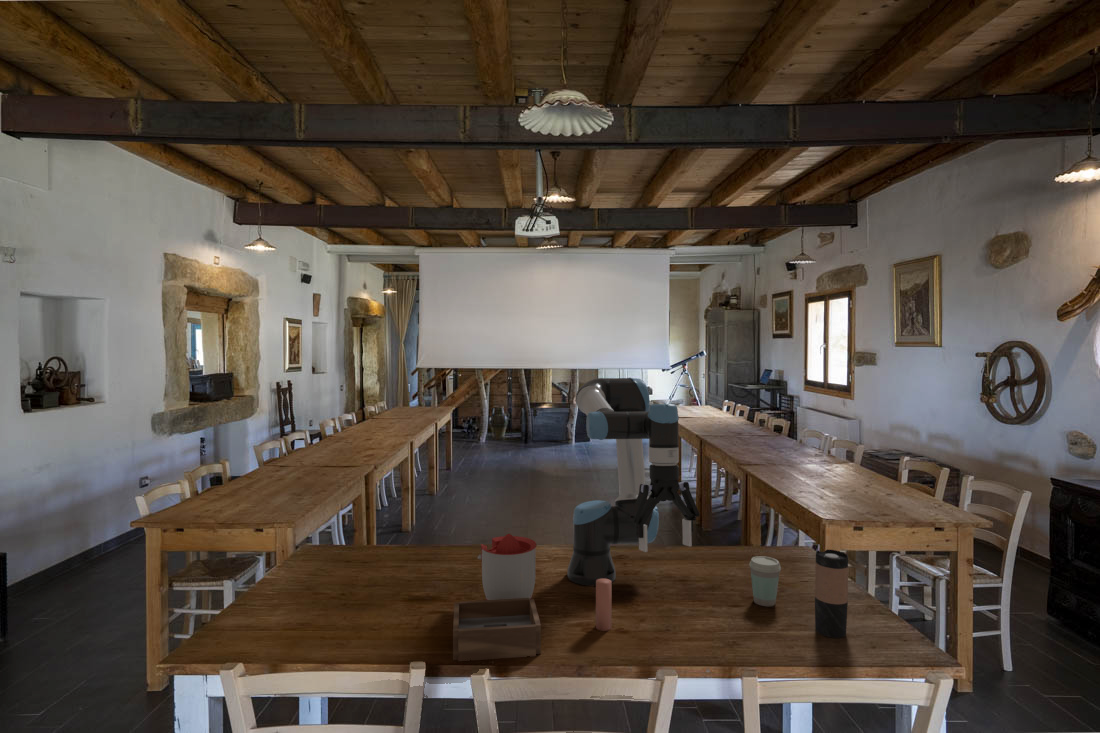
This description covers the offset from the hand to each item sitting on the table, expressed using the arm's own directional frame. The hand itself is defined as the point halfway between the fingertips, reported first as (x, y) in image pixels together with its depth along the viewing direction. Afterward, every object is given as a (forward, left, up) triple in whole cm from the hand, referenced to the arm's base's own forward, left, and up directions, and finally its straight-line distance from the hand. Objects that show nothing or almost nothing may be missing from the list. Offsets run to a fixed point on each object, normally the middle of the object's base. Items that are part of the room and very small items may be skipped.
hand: (665, 548), depth 153 cm
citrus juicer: (-22, -39, -22) cm, 50 cm away
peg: (-4, -15, -21) cm, 26 cm away
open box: (0, -43, -21) cm, 48 cm away
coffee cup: (-13, +34, -22) cm, 42 cm away
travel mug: (+6, +42, -22) cm, 47 cm away
